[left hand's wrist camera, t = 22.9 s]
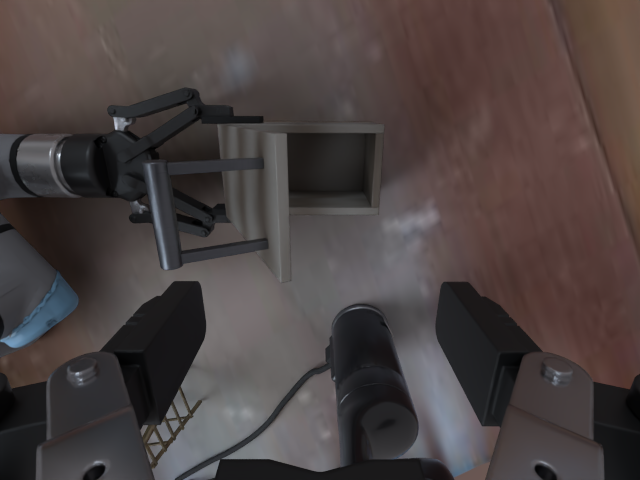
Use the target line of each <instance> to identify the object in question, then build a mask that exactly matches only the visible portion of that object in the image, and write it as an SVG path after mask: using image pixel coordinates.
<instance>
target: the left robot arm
mask: <svg viewBox="0 0 640 480" xmlns="http://www.w3.org/2000/svg"><path fill="white" fill-rule="evenodd" d="M390 332H391V330H390V328H389V325H388V322H387V319H386V317H385V315H384V314H383V313H382V312H381V311H380V310H378V309H377V308H375V307H373V306H370V305H365V304H358V305H352V306H349V307H347V308H345V309H343V310H342V311H341V312H340V313H339V314H338V315H337V316H336V317H335V319H334V321H333V324H332V336H331V337H330V345H329V346H328V347H327V348H326V362H327V364H326V365H324V366H322V367H320V368H318V369H312V370H310V371H309V372H308V373H306V374H305V375H304V376H303V377H302V378H301V379H300V380H299V381H298V382H297V383H296V384H295V386H294V387H293V388H292V389H291V390H290V392H289V393H288V394H287V395H286V396H285V398H284V399H283V400H282V401H281V402H280V404H279V405H278V406H277V408H276V409H275V411H274V412H273V413H272V415H271V416H270V417H269V419H268V420H267V421H266V422H265V423H264V424H263V425H262V426H261V427H260V428H259V429H258V430H257V431H255V432H254V433H253V434H252V435H250V436H249V437H248V438H246V439H245V440H243V441H242V442H240V443H239V444H237V445H235V446H234V447H232V448H231V449H229V450H227V451H225V452H223V453H221V454H219V455H217V456H215V457H213V458H211V459H209V460H207V461H205V462H203V463H201V464H200V465H198V466H196V467H194V468H193V469H191V470H189V471H187V472H186V473H184V474H182V475H181V476H179V477H177V478H176V479H175V480H183V479H185V478H186V477H188V476H190V475H192V474H193V473H195V472H197V471H198V470H200V469H202V468H204V467H206V466H207V465H209V464H211V463H213V462H215V461H217V460H220V462H219V466H218V469H217V473H216V476H215V478H212V479H208V480H454V478H453V476H452V474H451V473H450V471H449V470H448V468H447V467H446V466H445V465H444V464H443V463H442V462H441V461H439V460H437V459H431V458H411V459H396V458H398V457H400V456H402V455H403V454H404V453H406V452H407V451H408V450H409V449H410V448H411V447H412V445H413V444H414V442H415V440H416V438H417V435H418V430H419V424H418V418H417V414H416V411H415V408H414V405H413V402H412V399H411V396H410V393H409V390H408V387H407V384H406V381H405V377H404V374H403V371H402V368H401V365H400V362H399V358H398V355H397V352H396V349H395V346H394V343H393V339H392V336H391V334H392V332H391V333H390ZM205 333H206V318H205V311H204V304H203V297H202V290H201V285H200V283H199V282H198V281H174V282H173V283H172V284H171V285H170V286H169V287H168V289H167V290H166V291H165V292H164V293H163V294H162V296H156V297H154V298H153V299H151V300H149V301H148V302H146V303H144V304H143V305H142V306H141V307H140V308H139V309H138V310H137V311H136V312H135V313H134V314H133V317H131V318H130V319H129V320H128V321H127V322H126V325H123V326H122V327H121V328H120V330H119V331H118V332H117V333H116V334H115V335H114V336H113V337H112V338H111V339H110V340H109V341H108V343H107V344H106V345H105V346H104V347H103V348H102V349H101V350H100V351H99V352H92V353H87V354H84V355H81V356H78V357H76V358H74V359H71V360H69V361H68V362H66V363H64V364H63V365H61V366H60V367H58V368H57V369H56V370H55V371H54V372H53V373H52V374H51V375H50V377H49V378H48V380H47V381H46V382H41V383H36V384H31V385H27V386H22V387H17V388H13V389H11V386H10V384H9V381H8V379H7V377H6V375H5V374H3V373H0V480H155V479H154V475H153V472H152V469H151V465H150V462H149V459H148V455H147V452H146V449H145V445H144V442H143V439H142V435H141V432H140V430H141V428H142V426H143V425H161V423H162V421H163V419H164V417H165V415H166V413H167V411H168V409H169V407H170V405H171V403H172V401H173V399H174V398H175V396H176V394H177V392H178V390H179V388H180V386H181V384H182V382H183V380H184V378H185V376H186V374H187V372H188V370H189V368H190V366H191V364H192V362H193V360H194V358H195V356H196V354H197V352H198V350H199V349H200V347H201V345H202V343H203V341H204V338H205ZM392 335H393V334H392ZM436 335H437V339H438V342H439V344H440V346H441V348H442V350H443V351H444V353H445V355H446V357H447V359H448V361H449V363H450V365H451V367H452V369H453V371H454V373H455V375H456V377H457V379H458V381H459V382H460V384H461V386H462V388H463V390H464V392H465V394H466V396H467V398H468V400H469V402H470V404H471V406H472V408H473V410H474V411H475V413H476V415H477V417H478V419H479V421H480V423H481V425H482V426H500V428H501V429H500V432H499V435H498V439H497V442H496V445H495V449H494V452H493V455H492V459H491V462H490V465H489V469H488V472H487V475H486V479H485V480H640V374H639V375H637V376H636V377H635V379H634V381H633V384H632V386H631V388H630V389H625V388H620V387H616V386H611V385H606V384H601V383H597V382H593V380H592V378H591V377H590V375H589V374H588V373H587V372H586V371H585V370H584V369H583V368H582V367H580V366H579V365H577V364H576V363H574V362H572V361H571V360H569V359H566V358H564V357H562V356H559V355H556V354H553V353H548V352H543V351H542V350H541V349H540V348H539V347H538V346H537V345H536V344H535V343H534V342H533V340H532V339H531V338H530V337H529V336H528V335H527V334H526V333H525V332H524V331H523V330H522V329H521V328H520V327H519V326H517V323H516V322H515V321H514V320H513V319H512V318H511V317H509V315H508V314H507V313H506V312H505V310H504V309H503V308H502V307H501V306H500V305H498V304H497V303H495V302H493V301H492V300H490V299H488V298H487V297H481V296H480V295H479V294H478V293H477V291H476V290H475V289H474V288H473V287H472V286H471V285H470V283H468V282H443V283H442V285H441V289H440V296H439V303H438V310H437V317H436ZM393 337H394V336H393ZM330 368H331V378H332V380H333V381H334V382H335V385H336V401H337V419H338V431H339V443H340V468H336V469H332V470H329V471H325V472H315V471H311V470H308V469H304V468H300V467H296V466H293V465H289V464H285V463H281V462H278V461H274V460H270V459H222V458H224V457H226V456H228V455H230V454H231V453H233V452H235V451H237V450H238V449H240V448H241V447H243V446H244V445H246V444H248V443H249V442H250V441H252V440H253V439H255V438H256V437H257V436H258V435H259V434H261V433H262V432H263V431H264V430H265V429H266V428H267V427H268V426H269V425H270V424H271V423H272V421H273V420H274V419H275V418H276V416H277V415H278V413H279V412H280V411H281V409H282V408H283V407H284V405H285V404H286V403H287V402H288V401H289V400H290V398H291V397H292V396H293V395H294V394H295V392H296V391H297V390H298V389H299V388H300V386H301V385H302V384H303V383H304V382H305V381H306V380H307V379H309V378H310V377H311V376H312V375H314V374H320V373H322V372H324V371H326V370H328V369H330Z"/></svg>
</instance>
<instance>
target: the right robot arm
mask: <svg viewBox="0 0 640 480" xmlns="http://www.w3.org/2000/svg"><path fill="white" fill-rule="evenodd" d="M199 96H200V95H199V92H198V91H197V90H196V89H191V88H182V89H179V90H176V91H173V92H170V93H167V94H164V95H161V96H158V97H155V98H152V99H149V100H146V101H143V102H140V103H137V104H134V105H131V106H114V105H112V106H109V107H108V109H107V111H108V114H109V115H110V116H112V117H114V125H115V130H114V131H113V132H111V133H109V134H74V135H72V134H27V135H26V134H0V200H2V199H7V198H16V197H65V198H79V197H86V198H122V199H125V200H127V201H129V202H130V206H131V209H132V213H133V214H131V215H130V216H129V219H130V221H131V222H132V223H152V224H153V222H152V216H151V211H150V205H148V204H145V203H143V202H142V201H141V198H142V197H144V196H145V195H146V194H147V189H146V183H145V178H144V172H143V166H142V162H143V161H146V160H159V154H158V152H156V151H155V149H156V148H158V147H159V146H161V145H162V144H164V142H166V141H167V140H169V139H170V138H172V137H173V136H175V135H176V134H178V133H179V132H181V131H183V130H184V129H186V128H187V127H189V126H190V125H192V124H193V123H195V122H196V121H198V120H199V119H201V121H202V124H228V123H264V122H263V116H233V107H230V106H226V105H205V104H203V103H202V101H201V99H200V97H199ZM186 103H187V104H188V106H189V108H188V109H186V110H185V111H183V112H182V113H180V114H179V115H177V116H176V117H174V118H173V119H171V120H170V121H168V122H167V123H165V124H164V125H162V126H161V127H159V128H158V129H156V130H155V131H153V132H152V133H150V134H149V135H147V136H144V137H143V138H141V139H140V138H139V137H137V136H136V135H134V134H133V133H131V132H130V131H128V127H129V126H130V125H133V124H135V122H136V118H139V117H145V116H149V115H152V114H155V113H158V112H161V111H164V110H167V109H170V108H173V107H176V106H179V105H183V104H186ZM172 191H173V198H174V204H175V207H176V208H177V209H179V210H181V211H183V212H185V213H187V214H189V215H191V216H193V217H195V218H197V219H195V218H192V217H188V216H184V215H181V214H177V213H176V217H177V224H178V230H179V231H182V232H186V233H190V234H194V235H197V236H201V237H207V236H208V235H209V234H210V233H211V232H212V231H213V230H214V224H215V223H232V222H231V221H230V220H229V219H228V218H227V216H226V208H225V204H217V205H216V206H215V207H214V208H211V207H209V206H207V205H205V204H203V203H201V202H199V201H197V200H196V199H194V198H192V197H190V196H188V195H186V194H184V193H182V192H180V191H178V190H177V189H175V188H173V187H172ZM147 195H148V194H147ZM78 302H79V298H78V296H77V294H76V293H75V292H74V291H73V289H72V288H71V287H70V286H69V284H68V283H67V282H66V281H65V280H64V278H63V277H62V276H61V274H60V272H59V271H58V270H56V269H54V268H53V267H52V266H51V265H50V264H49V263H48V262H47V261H46V260H45V259H44V258H43V257H42V256H41V255H40V254H39V253H38V252H37V251H36V250H35V249H34V248H33V247H32V246H31V245H30V244H29V243H28V242H27V241H26V240H25V239H24V238H23V237H22V236H21V235H20V234H19V233H18V232H17V231H16V229H15V228H14V227H13V226H12V225H11V224H10V223H9V222H8V221H7V220H6V218H5V217H4V216H3V215H2V214H1V213H0V357H2V356H5V355H8V354H10V353H13V352H15V351H18V350H20V349H23V348H25V347H28V346H30V345H31V344H33V343H34V342H36V341H37V340H38V339H39V338H40V337H42V336H43V335H44V334H45V333H46V332H47V331H48V330H49V329H50V328H51V327H53V326H54V325H56V324H57V323H58V322H60V321H61V320H63V319H64V318H65V317H67V316H68V315H69V314H70V313H71V312H73V311H74V310H75V309H76V307H77V306H78Z"/></svg>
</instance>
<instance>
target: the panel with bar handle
mask: <svg viewBox="0 0 640 480" xmlns="http://www.w3.org/2000/svg"><path fill="white" fill-rule="evenodd" d="M217 127H218V137H219V147H220V157H221V159H217V160H199V161H180V162H168V161H167V160H146V161H143V162H142V166H143V172H144V178H145V183H146V189H147V194H148V200H149V205H150V211H151V216H152V222H153V227H154V233H155V239H156V244H157V250H158V255H159V261H160V266H161V268H162V269H164V270H174V269H177V268H180V267H182V266H183V264H184V263H190V262H196V261H202V260H207V259H213V258H219V257H225V256H231V255H236V254H242V253H248V252H254V251H255V252H256V253H257V254H258V255H259V257H260V258H261V259H262V260H263V262H264V263H265V264H266V265H267V267H268V268H269V269H270V270H271V271H272V273H273V274H274V275H275V276H276V278H277V279H278V280H279V281H280V282H281V283H284V282H288V281H291V255H290V222H289V190H288V157H287V134H286V133H280V132H273V131H266V130H260V129H253V128H246V127H240V126H233V125H227V124H217ZM208 172H222V178H223V188H224V198H225V208H226V216H227V218H228V219H229V220H230V221H231V222H232V224H233V225H234V226H235V227H236V229H237V230H238V231H239V232H240V233H241V235H242V236H243V237H244V238H245V240H246V241H242V242H235V243H229V244H223V245H216V246H210V247H204V248H197V249H191V250H185V251H182V250H181V243H180V237H179V230H178V224H177V217H176V211H175V204H174V198H173V191H172V184H171V178H170V175H179V174H193V173H208Z"/></svg>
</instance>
